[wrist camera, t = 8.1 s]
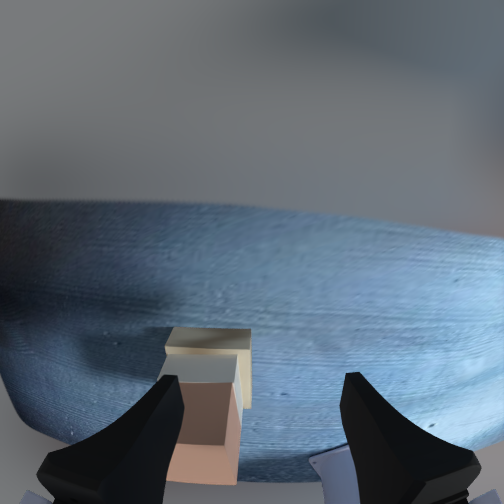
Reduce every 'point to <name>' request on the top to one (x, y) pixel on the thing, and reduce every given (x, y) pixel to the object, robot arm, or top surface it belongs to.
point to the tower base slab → (217, 349)
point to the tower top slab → (206, 371)
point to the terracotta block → (207, 436)
